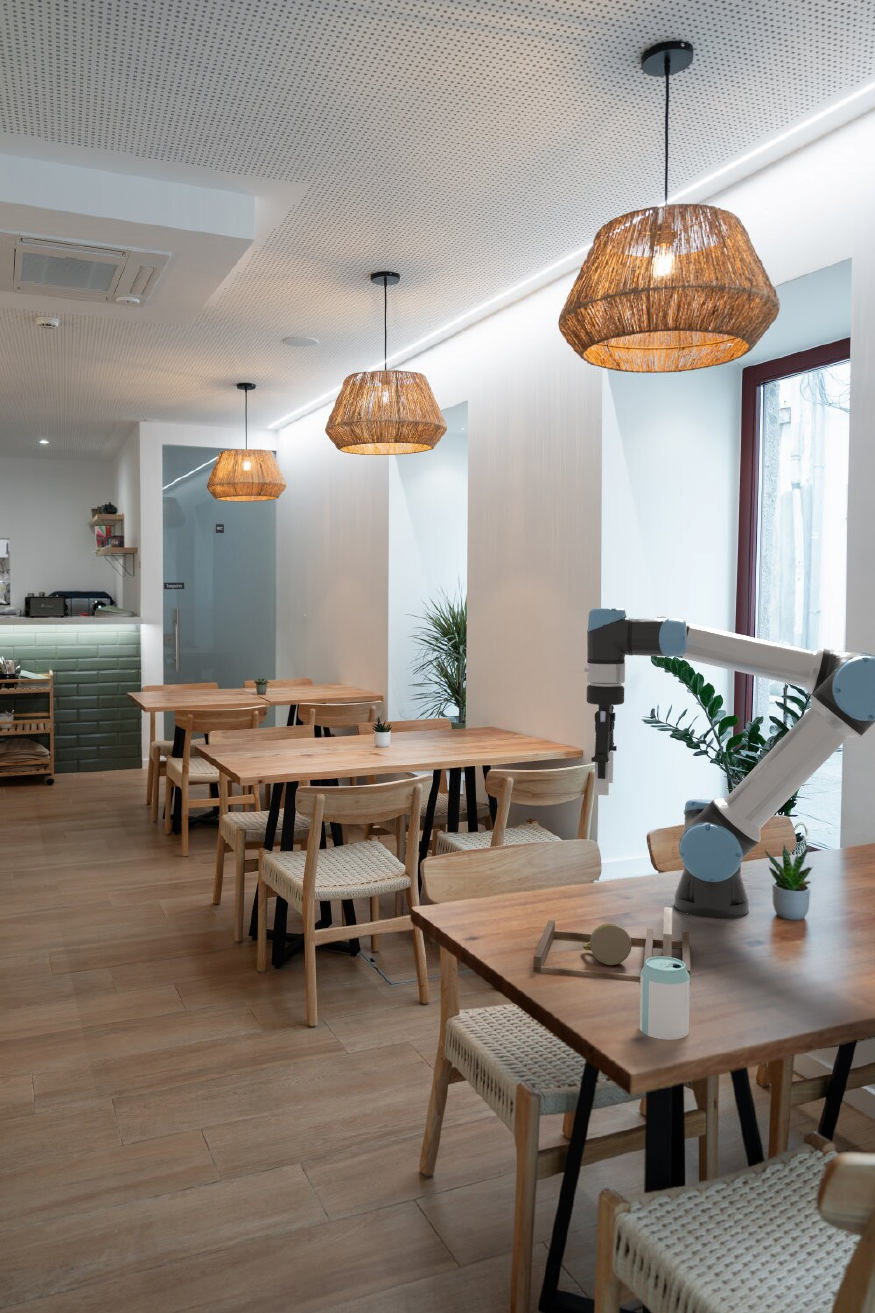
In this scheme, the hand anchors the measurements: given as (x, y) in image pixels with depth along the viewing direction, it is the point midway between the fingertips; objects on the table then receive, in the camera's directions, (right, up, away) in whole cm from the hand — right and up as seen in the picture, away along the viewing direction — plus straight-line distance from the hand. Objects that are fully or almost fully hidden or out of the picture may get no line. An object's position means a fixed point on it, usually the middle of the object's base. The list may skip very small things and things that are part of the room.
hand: (603, 788), depth 201 cm
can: (-1, -30, -56) cm, 63 cm away
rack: (-2, -28, -25) cm, 37 cm away
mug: (-4, -28, -22) cm, 36 cm away
